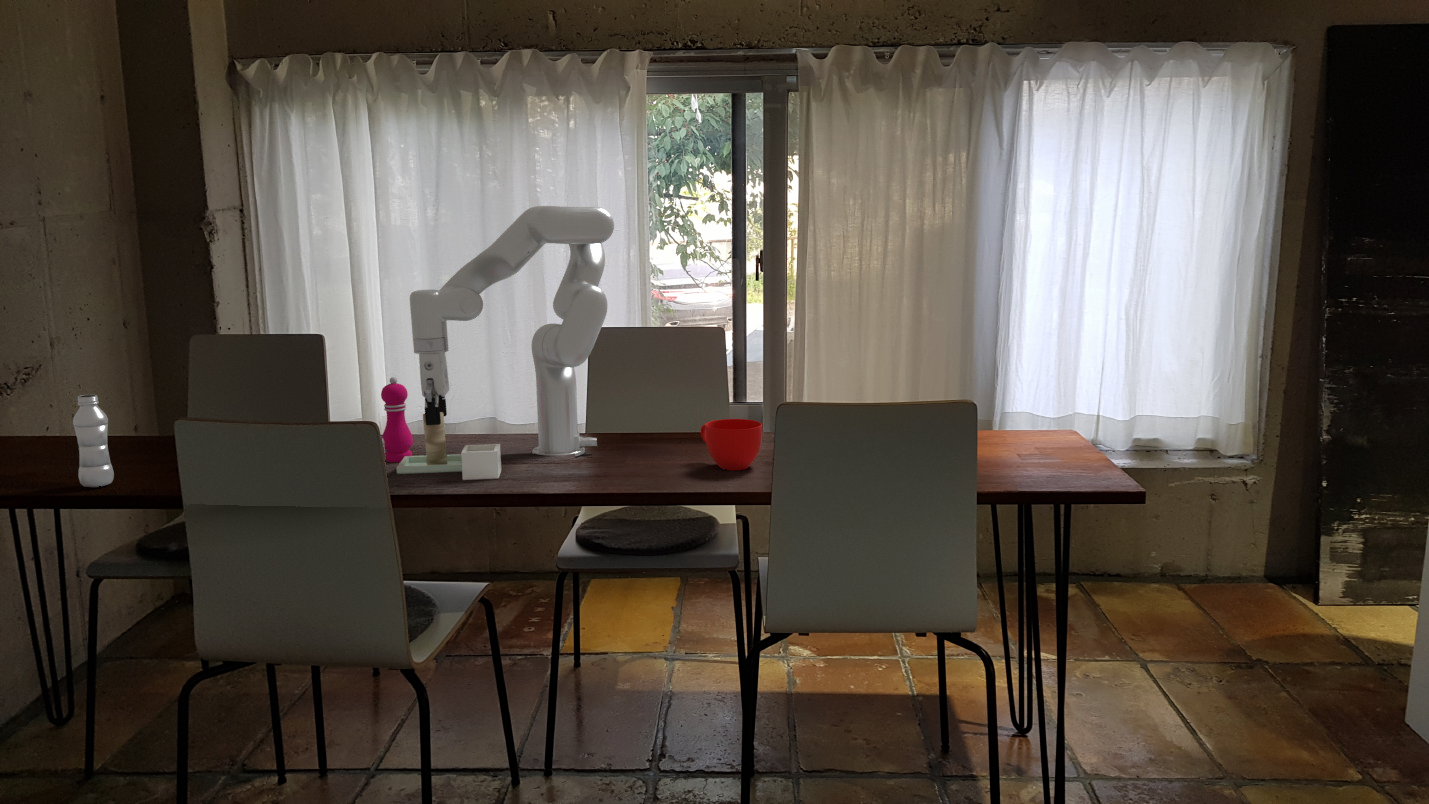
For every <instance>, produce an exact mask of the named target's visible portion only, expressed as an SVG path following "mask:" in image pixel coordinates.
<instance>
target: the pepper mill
mask: <svg viewBox="0 0 1429 804" xmlns="http://www.w3.org/2000/svg"><path fill="white" fill-rule="evenodd" d="M408 395H409V394H408V390H407V388H406V387H405V385H403V384H401V383H398V378H396V377H395V376H391V377H390V378H389V383H388V384H386V385H384V386H383V387H382V389H381V393H380V397H381V400H382V401H383V402H384V403H385V404H384V405H383V406H384V408H383V410H384V411H385V412H386V423H385V428H384V430H383V433H382V436H381V437H382V438H383V439H384V446H385V447H384V448H385V456H386V461H385V462H388V463H400V462H401V461H402V460H403V458H404V457H405V456H413V452H412V450H410V449H411V448H412V446H413V444H414V438H413V435H412V432H411V430H410V428H409V426H408V424H407V421H406V416H405V411H406V410H407V407H406V405H407V403H405V402H406V400H407V399H408Z"/></svg>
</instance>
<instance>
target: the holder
mask: <svg viewBox="0 0 1429 804" xmlns="http://www.w3.org/2000/svg"><path fill="white" fill-rule="evenodd" d="M460 454H461V458H462V472H461V473H462V474H461V475H462V481H466V480H467V481H468V480H469V481H470V480H472V481H473V480H495V479H500V475H501V473H502V458H501V457H502V455H501V454H502V453H501V443H490V444H488V443H486V444H466V445H464V447H463V448H462V451H461V453H460Z"/></svg>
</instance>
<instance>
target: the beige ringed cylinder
mask: <svg viewBox="0 0 1429 804" xmlns="http://www.w3.org/2000/svg"><path fill="white" fill-rule="evenodd" d="M440 417H441V424H440V425H426V420H425V413H423V414H422V419H423V420H422V421H423V432H424V443H425V444H424V445H425V446H424V447H425V456H426V458H427V465H444V464H447V455H448V453H447V444H446V443H447V441H446V428H445V416H444V414H443V413H442V412H440Z"/></svg>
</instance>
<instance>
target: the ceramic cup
mask: <svg viewBox="0 0 1429 804" xmlns="http://www.w3.org/2000/svg"><path fill="white" fill-rule="evenodd" d="M700 435H701V438H702V440H703V442H704V443H705V444H706V447H707V449H708V452H709V454H710V456H711V458H712V459H713V461H714V462H715V463H716V465H717V466H718V467H719V468H720V469H721V468H722V470H725V469H727V470H726V471H741V470H742V471H743V470H746V469H748V468H749V467H750V465H752V463H753V462H754V460H755V459H756V458H757V456H758V454H759V451H760V448H761V445H762V436H763V423H762V422H760V421H757V420H754V419H745V418H725V419H723V418H722V419H717V420H716V419H715V420H710V421H707V422H706V423H704V424H703V425H702V426H701V427H700Z"/></svg>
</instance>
